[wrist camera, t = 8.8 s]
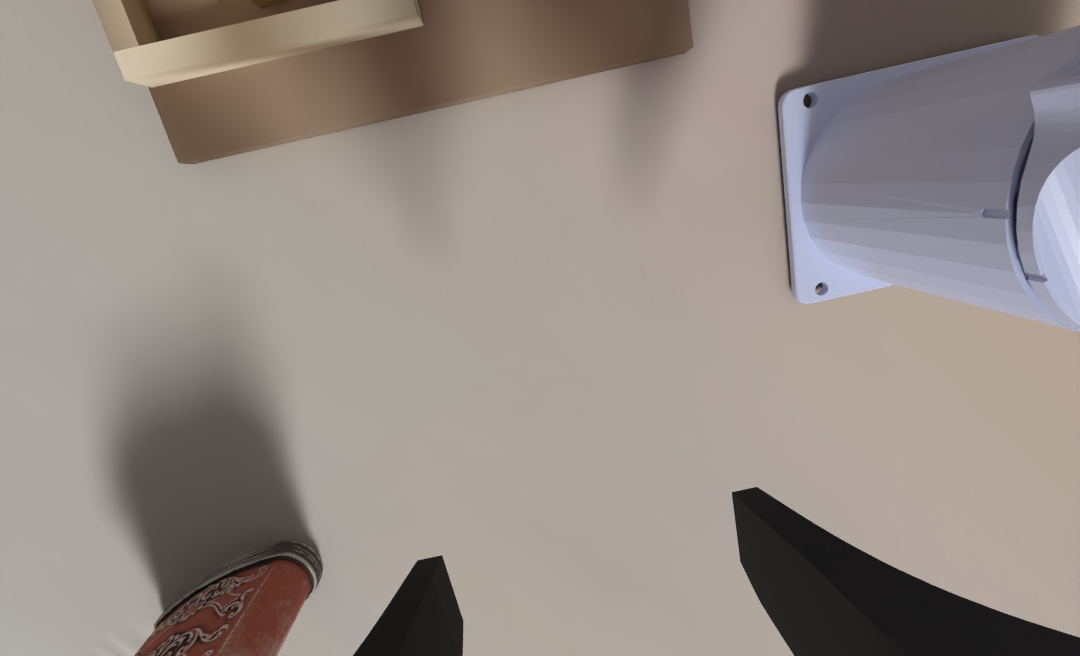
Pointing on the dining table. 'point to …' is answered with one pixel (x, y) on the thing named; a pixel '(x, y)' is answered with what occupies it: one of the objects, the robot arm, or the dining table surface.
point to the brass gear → (264, 2)
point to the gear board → (362, 59)
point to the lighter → (239, 605)
